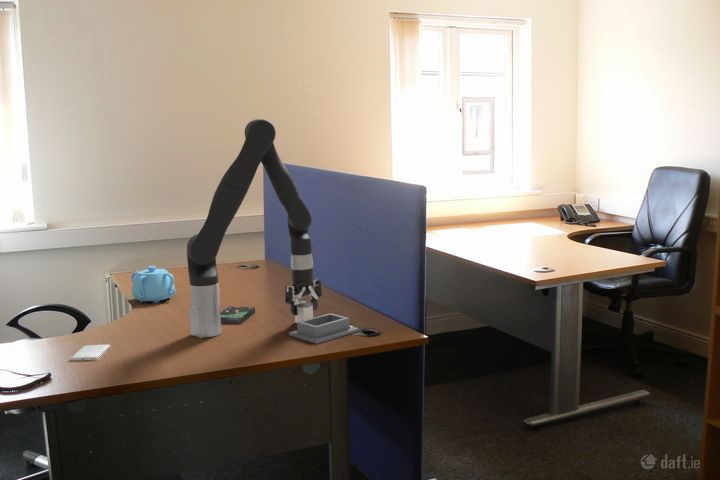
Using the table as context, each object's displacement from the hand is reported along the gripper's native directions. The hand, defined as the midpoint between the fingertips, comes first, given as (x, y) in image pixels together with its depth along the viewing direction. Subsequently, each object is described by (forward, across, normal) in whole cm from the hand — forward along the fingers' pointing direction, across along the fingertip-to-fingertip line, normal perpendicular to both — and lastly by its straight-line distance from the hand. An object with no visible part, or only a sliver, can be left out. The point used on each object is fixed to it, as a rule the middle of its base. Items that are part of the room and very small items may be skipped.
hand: (304, 312), depth 258 cm
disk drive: (+4, +12, -24) cm, 28 cm away
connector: (+4, 0, 0) cm, 4 cm away
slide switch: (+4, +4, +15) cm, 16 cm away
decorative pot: (+3, +18, -72) cm, 75 cm away
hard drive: (+3, +66, -23) cm, 70 cm away
